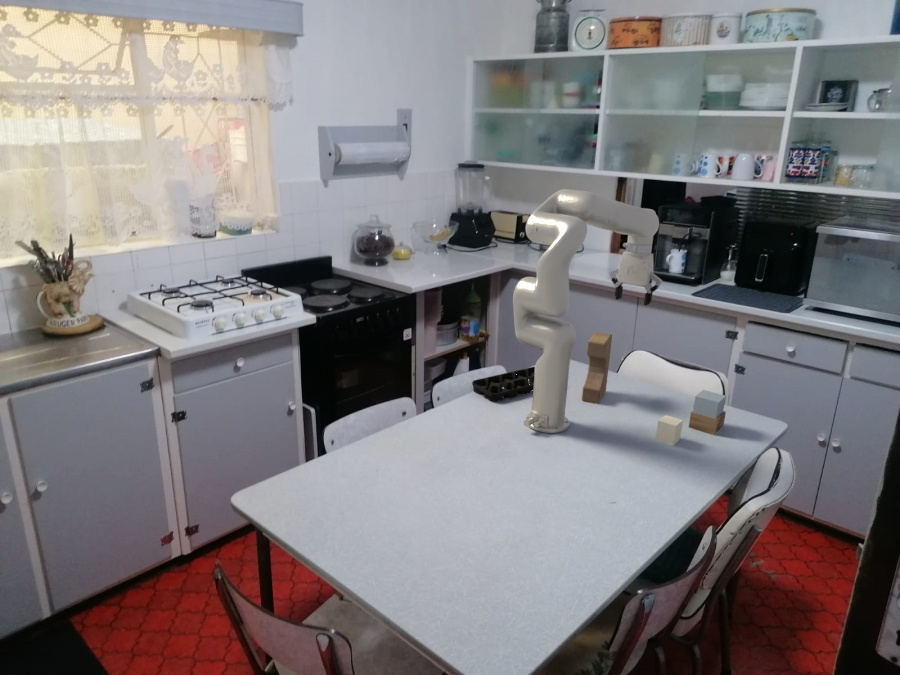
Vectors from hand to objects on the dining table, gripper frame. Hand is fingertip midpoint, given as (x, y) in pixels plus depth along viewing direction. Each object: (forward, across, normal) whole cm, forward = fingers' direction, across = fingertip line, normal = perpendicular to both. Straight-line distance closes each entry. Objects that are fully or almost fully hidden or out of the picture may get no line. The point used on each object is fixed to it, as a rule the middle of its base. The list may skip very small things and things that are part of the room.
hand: (632, 301), depth 209 cm
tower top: (+25, +32, -12) cm, 42 cm away
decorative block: (+30, -3, -14) cm, 33 cm away
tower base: (+30, +32, -12) cm, 45 cm away
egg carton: (+30, -25, -26) cm, 47 cm away
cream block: (+30, +27, -28) cm, 49 cm away
